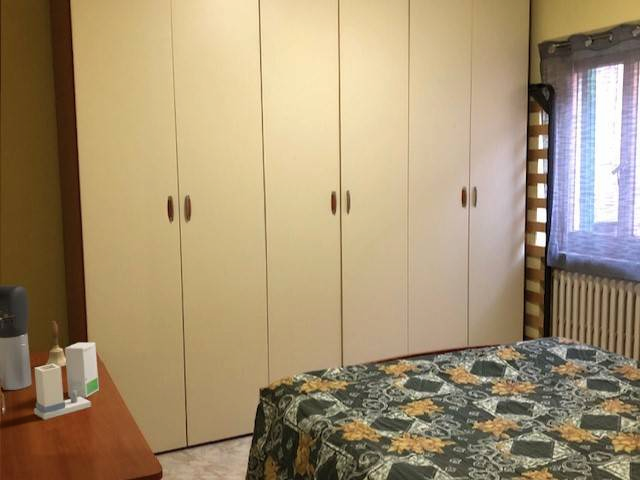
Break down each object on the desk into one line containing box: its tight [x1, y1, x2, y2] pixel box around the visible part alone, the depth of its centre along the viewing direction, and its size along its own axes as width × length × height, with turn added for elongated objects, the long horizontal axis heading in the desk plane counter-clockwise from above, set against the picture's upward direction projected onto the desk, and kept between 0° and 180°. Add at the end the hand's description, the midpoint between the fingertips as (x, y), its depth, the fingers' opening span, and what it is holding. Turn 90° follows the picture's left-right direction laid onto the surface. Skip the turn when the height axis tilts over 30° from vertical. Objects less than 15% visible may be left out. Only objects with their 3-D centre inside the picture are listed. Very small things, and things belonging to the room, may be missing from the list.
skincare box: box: [64, 342, 100, 399], centre depth 223 cm, size 8×7×16 cm
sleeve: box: [34, 364, 65, 413], centre depth 206 cm, size 6×6×12 cm
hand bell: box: [45, 320, 66, 368], centre depth 257 cm, size 8×8×16 cm
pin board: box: [33, 390, 92, 420], centre depth 209 cm, size 14×7×5 cm, turn 134°
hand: (9, 317), depth 198 cm, fingers open, 8 cm apart
